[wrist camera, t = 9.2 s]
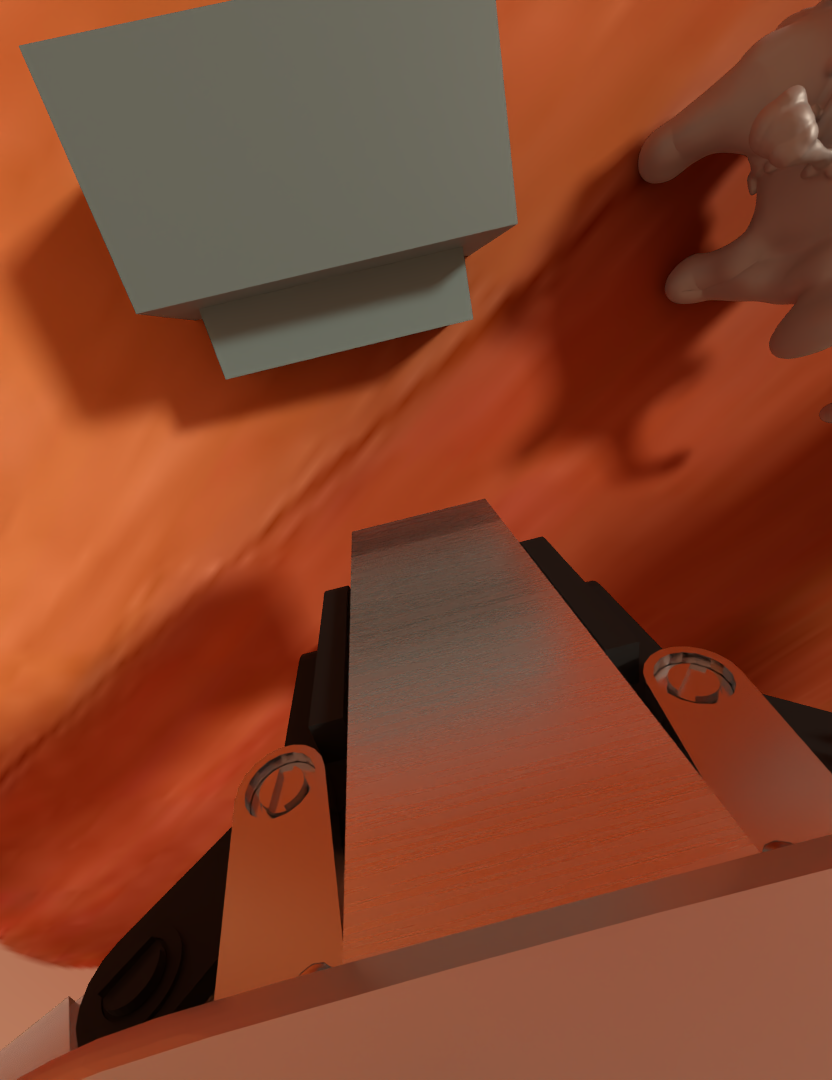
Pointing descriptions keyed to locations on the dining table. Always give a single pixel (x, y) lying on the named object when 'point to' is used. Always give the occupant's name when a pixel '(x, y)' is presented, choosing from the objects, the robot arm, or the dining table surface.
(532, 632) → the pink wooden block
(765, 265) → the grey monster figurine
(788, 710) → the robot arm
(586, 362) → the dining table surface
